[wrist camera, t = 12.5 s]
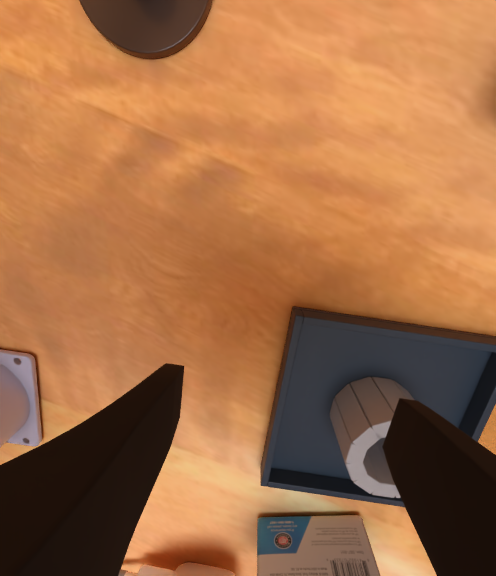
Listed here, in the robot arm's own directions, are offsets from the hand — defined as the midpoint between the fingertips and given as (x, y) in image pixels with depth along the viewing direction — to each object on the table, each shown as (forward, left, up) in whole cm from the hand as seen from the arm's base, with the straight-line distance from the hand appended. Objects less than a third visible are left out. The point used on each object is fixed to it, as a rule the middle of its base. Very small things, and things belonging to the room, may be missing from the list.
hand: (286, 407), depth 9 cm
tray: (+8, -7, -9) cm, 14 cm away
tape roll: (+8, -7, -9) cm, 14 cm away
